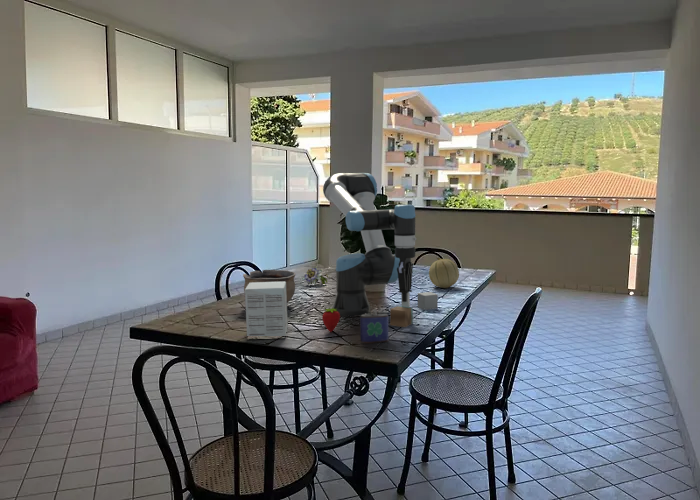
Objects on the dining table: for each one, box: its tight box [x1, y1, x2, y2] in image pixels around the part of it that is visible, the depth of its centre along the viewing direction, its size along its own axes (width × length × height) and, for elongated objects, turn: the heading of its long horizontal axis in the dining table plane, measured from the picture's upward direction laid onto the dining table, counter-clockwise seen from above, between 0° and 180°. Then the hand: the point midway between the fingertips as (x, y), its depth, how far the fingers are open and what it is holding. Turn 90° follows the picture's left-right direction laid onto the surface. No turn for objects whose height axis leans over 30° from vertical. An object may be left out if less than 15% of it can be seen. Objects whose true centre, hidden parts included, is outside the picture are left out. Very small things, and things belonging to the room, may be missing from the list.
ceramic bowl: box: [242, 269, 297, 304], centre depth 217 cm, size 22×22×15 cm
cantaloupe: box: [428, 257, 460, 289], centre depth 253 cm, size 15×15×15 cm
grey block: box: [417, 291, 439, 311], centre depth 212 cm, size 6×6×6 cm
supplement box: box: [244, 281, 289, 337], centre depth 176 cm, size 13×13×18 cm
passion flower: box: [301, 266, 329, 285], centre depth 269 cm, size 11×11×12 cm
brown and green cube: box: [389, 305, 414, 328], centre depth 186 cm, size 6×6×6 cm
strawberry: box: [321, 303, 341, 333], centre depth 177 cm, size 6×8×10 cm
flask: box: [359, 309, 390, 344], centre depth 165 cm, size 9×3×11 cm, turn 95°
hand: (405, 309), depth 190 cm, fingers closed
